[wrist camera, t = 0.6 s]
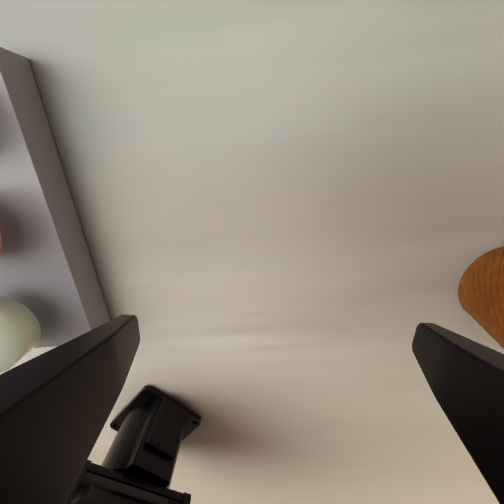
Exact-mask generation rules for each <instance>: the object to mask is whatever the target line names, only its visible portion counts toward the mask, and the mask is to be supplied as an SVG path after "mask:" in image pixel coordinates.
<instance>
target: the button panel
mask: <svg viewBox="0 0 504 504" xmlns="http://www.w3.org/2000/svg"><path fill="white" fill-rule="evenodd" d="M0 234H1V238H2V250H1V253H0V297H5V298H9V299H12V300H15V301H17V302H19V303H21V304H22V305H24V306H25V307H27V308H28V309H29V310H30V311H31V312H32V313H33V314H34V315H35V317H36V318H37V320H38V322H39V324H40V327H41V338H40V340H39V342H38V344H37V345H36V346H35V347H33V348H38V347H53V346H60V345H62V344H64V343H66V342H68V341H70V340H72V339H74V338H76V337H78V336H80V335H82V334H84V333H86V332H88V331H90V330H93V329H95V328H97V327H99V326H101V325H103V324H105V323H107V322H109V321H111V319H110V316H109V313H108V310H107V307H106V304H105V300H104V297H103V294H102V291H101V288H100V285H99V281H98V278H97V275H96V272H95V269H94V265H93V262H92V259H91V256H90V253H89V250H88V246H87V243H86V240H85V237H84V234H83V231H82V227H81V224H80V221H79V218H78V215H77V212H76V208H75V205H74V202H73V199H72V196H71V193H70V189H69V186H68V183H67V180H66V177H65V174H64V170H63V167H62V164H61V161H60V158H59V155H58V151H57V148H56V145H55V142H54V139H53V136H52V132H51V129H50V126H49V123H48V120H47V117H46V113H45V110H44V107H43V104H42V101H41V98H40V94H39V91H38V88H37V85H36V82H35V79H34V75H33V72H32V69H31V66H30V63H29V60H28V58H25V57H23V56H20V55H18V54H16V53H13V52H11V51H8V50H6V49H3V48H1V47H0Z"/></svg>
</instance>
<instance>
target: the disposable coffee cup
mask: <svg viewBox="0 0 504 504" xmlns="http://www.w3.org/2000/svg"><path fill="white" fill-rule="evenodd" d="M458 294H459V301H460V303H461V305H462V307H463V308H464V309H465V310H466V311H467V312H468V313H469V314H470V315H471V316H472V317H473V318H474V319H475V320H476V321H477V322H478V323H479V324H480V325H481V326H482V327H483V328H484V329H485V330H486V331H487V332H488V333H489V334H490V335H491V336H492V337H493V338H494V340H496V341H497V342H498V343H499V345H500V346H501V347H503V348H504V247H502V248H498V249H495V250H493V251H490V252H488V253H486V254H484V255H483V256H481V257H480V258H478V259H477V260H476V261H475V262H474V263H473V264H472V265H471V266H470V267H469V268H468V270H467V271H466V272H465V273H464V275H463V277H462V279H461V282H460V285H459V290H458Z"/></svg>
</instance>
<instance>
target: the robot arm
mask: <svg viewBox="0 0 504 504" xmlns="http://www.w3.org/2000/svg"><path fill="white" fill-rule="evenodd" d="M139 342H140V334H139V326H138V319H137V317H136V316H135V315H121V316H119V317H117V318H115V319H113V320H111V321H109V322H107V323H105V324H103V325H101V326H99V327H97V328H95V329H93V330H90V331H88V332H86V333H84V334H82V335H80V336H78V337H76V338H74V339H72V340H70V341H68V342H66V343H64V344H62V345H60V346H58V347H56V348H54V349H52V350H50V351H48V352H46V353H43V354H41V355H39V356H37V357H35V358H33V359H31V360H29V361H27V362H25V363H23V364H21V365H19V366H17V367H15V368H13V369H11V370H9V371H7V372H5V373H3V374H1V375H0V504H190V500H191V494H188V493H185V492H184V493H180V492H177V491H174V490H171V489H169V487H170V484H171V480H172V476H173V472H174V468H175V464H176V460H177V456H178V452H179V448H180V444H181V441H182V440H183V439H184V438H185V437H186V436H188V435H189V434H190V433H191V432H192V431H193V430H194V429H195V428H197V427H198V426H199V425H200V422H201V417H200V416H198V415H197V414H195V413H193V412H192V411H190V410H189V409H187V408H185V407H184V406H182V405H180V404H179V403H177V402H175V401H174V400H172V399H170V398H169V397H167V396H165V395H164V394H162V393H160V392H159V391H157V390H156V389H154V388H152V387H150V386H145V387H143V389H142V390H141V391H140V392H139V393H138V394H137V395H136V396H135V397H134V398H133V399H132V400H131V401H130V402H129V403H128V404H127V405H126V406H125V407H124V409H123V410H122V411H121V412H120V413H119V414H118V415H117V416H116V417H115V418H114V419H113V420H112V422H111V424H110V427H111V428H112V429H114V430H116V431H118V433H117V435H116V437H115V439H114V441H113V443H112V445H111V447H110V449H109V451H108V453H107V455H106V457H105V459H104V461H103V463H102V465H101V466H100V465H97V464H94V463H91V462H92V461H90V460H87V459H88V457H89V455H90V453H91V451H92V449H93V447H94V445H95V443H96V441H97V439H98V437H99V435H100V433H101V431H102V429H103V427H104V425H105V423H106V421H107V419H108V417H109V415H110V413H111V411H112V409H113V407H114V405H115V403H116V401H117V399H118V397H119V395H120V392H121V390H122V388H123V386H124V383H125V381H126V378H127V375H128V373H129V370H130V367H131V365H132V362H133V359H134V357H135V354H136V351H137V348H138V346H139ZM412 350H413V353H414V355H415V357H416V359H417V361H418V363H419V365H420V367H421V369H422V371H423V373H424V376H425V378H426V380H427V382H428V384H429V386H430V388H431V390H432V392H433V394H434V396H435V398H436V399H437V401H438V403H439V404H440V406H441V408H442V409H443V411H444V413H445V414H446V416H447V418H448V419H449V421H450V423H451V424H452V426H453V428H454V429H455V431H456V432H457V434H458V436H459V437H460V439H461V441H462V442H463V444H464V446H465V447H466V449H467V451H468V452H469V454H470V456H471V457H472V459H473V460H474V462H475V464H476V465H477V467H478V469H479V470H480V472H481V474H482V475H483V477H484V479H485V480H486V482H487V484H488V485H489V487H490V488H491V490H492V492H493V493H494V495H495V497H496V498H497V500H498V502H499V503H500V504H504V354H502V353H500V352H497V351H495V350H493V349H491V348H488V347H486V346H484V345H481V344H479V343H477V342H475V341H472V340H470V339H468V338H466V337H463V336H461V335H459V334H456V333H454V332H452V331H450V330H447V329H445V328H443V327H441V326H438V325H436V324H433V323H420V324H418V326H417V328H416V332H415V335H414V339H413V343H412Z"/></svg>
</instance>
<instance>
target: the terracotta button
mask: <svg viewBox="0 0 504 504" xmlns="http://www.w3.org/2000/svg"><path fill="white" fill-rule="evenodd" d="M1 250H2V238H1V234H0V253H1Z"/></svg>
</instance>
